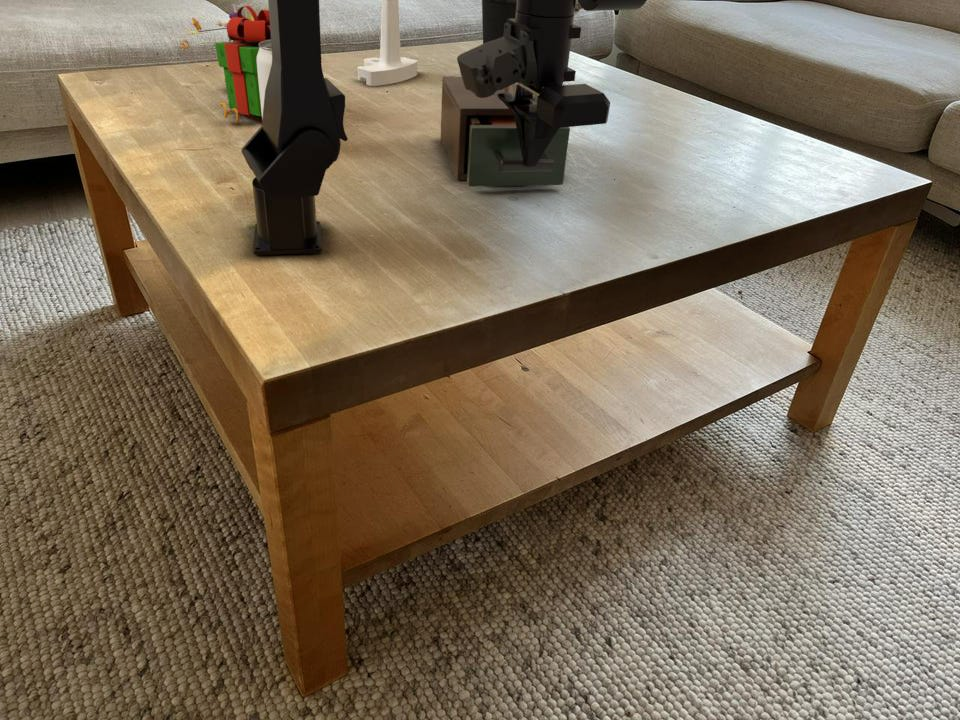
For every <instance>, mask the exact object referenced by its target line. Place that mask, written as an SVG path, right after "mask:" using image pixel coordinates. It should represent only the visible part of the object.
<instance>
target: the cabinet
mask: <svg viewBox="0 0 960 720" xmlns="http://www.w3.org/2000/svg"><path fill="white" fill-rule="evenodd" d="M441 80H442V84H441V111H440V112H441V113H440V115H441V116H440V117H441V118H440V144H441V147H442V149H443V152H444V153H445V156H446V158H447V160H448V163H449V164H450V167H451V169H452V172H453V174H454V177H455V178H456V180H457V181H467V173H468V168H467V166H466V164H465V142H466V123H467V115H513V113H512V111H511V110H510V109H509V108H508V107H507V106H506V105H505V104H504V103H503V102H502V101H501V100H500V99H499V98H498V96H497V94H500V93H504V89H502V90H498V91H496V92H495V94H494V95H492V96H489V97H486V98H479V97H477V96H476V95H475V93H473V92H472V91H470V90H467V89H465V86H464V82H463V79H462V76H442V79H441ZM543 88H544V87H543Z"/></svg>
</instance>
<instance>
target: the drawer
mask: <svg viewBox="0 0 960 720" xmlns="http://www.w3.org/2000/svg"><path fill="white" fill-rule="evenodd" d="M488 116H514V115H467V123H466V142H465V164H466V166H467V168H468V173H467V180H466V184H467V185H468V187H507V186H508V187H512V186H513V187H515V186H517V187H518V186H519V187H520V186H563V185H564V179H565V169H566V163H567V156H568V149H569V139H570V132H571V127H564V128H560V129H559V130H558V131H557V133H556V134H555V136H554V137H553V139H552V140H551V142H550V144H549V145H548V147H547V148H546V150H545V152H544V153H543V155H542V156H541V158H540V160H539V161H538V163H537V164H536V166H534V167H527V166H525V165H524V162H523V157H522V152H521V147H520V142H519V137H518V132H517V127H516V125H487V117H488Z"/></svg>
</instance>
